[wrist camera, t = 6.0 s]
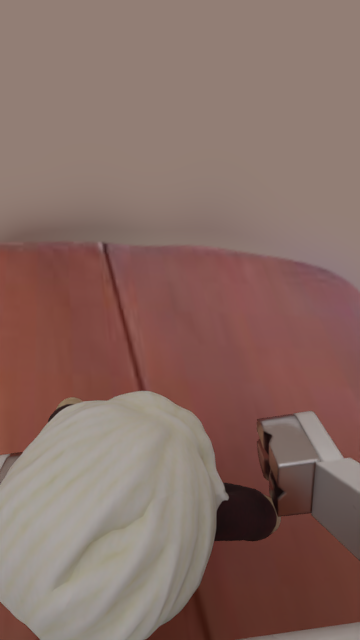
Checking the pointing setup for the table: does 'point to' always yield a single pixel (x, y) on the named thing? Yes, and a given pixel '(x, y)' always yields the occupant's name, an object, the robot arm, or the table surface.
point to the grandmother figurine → (116, 518)
